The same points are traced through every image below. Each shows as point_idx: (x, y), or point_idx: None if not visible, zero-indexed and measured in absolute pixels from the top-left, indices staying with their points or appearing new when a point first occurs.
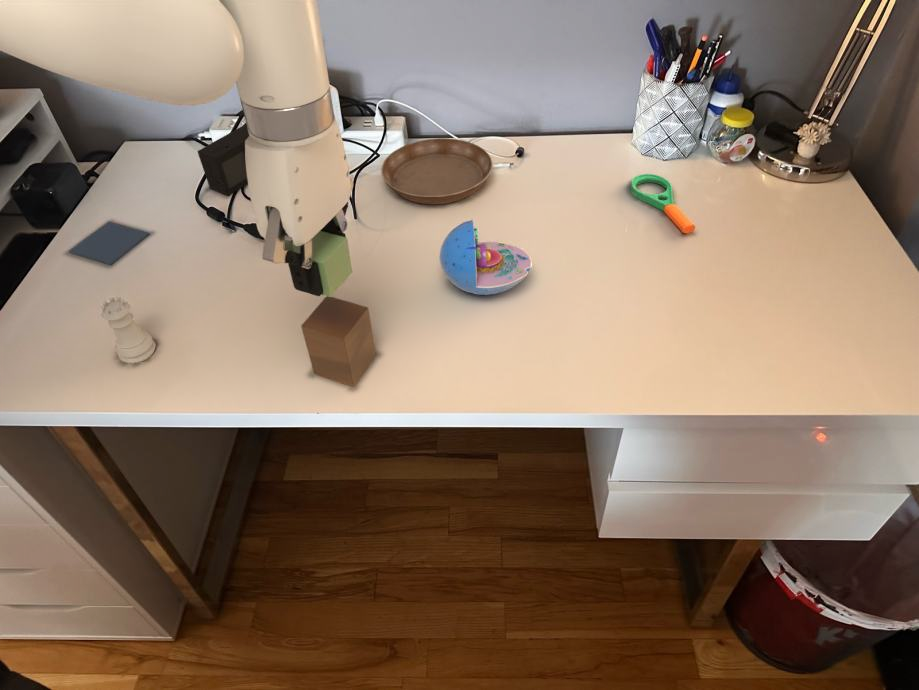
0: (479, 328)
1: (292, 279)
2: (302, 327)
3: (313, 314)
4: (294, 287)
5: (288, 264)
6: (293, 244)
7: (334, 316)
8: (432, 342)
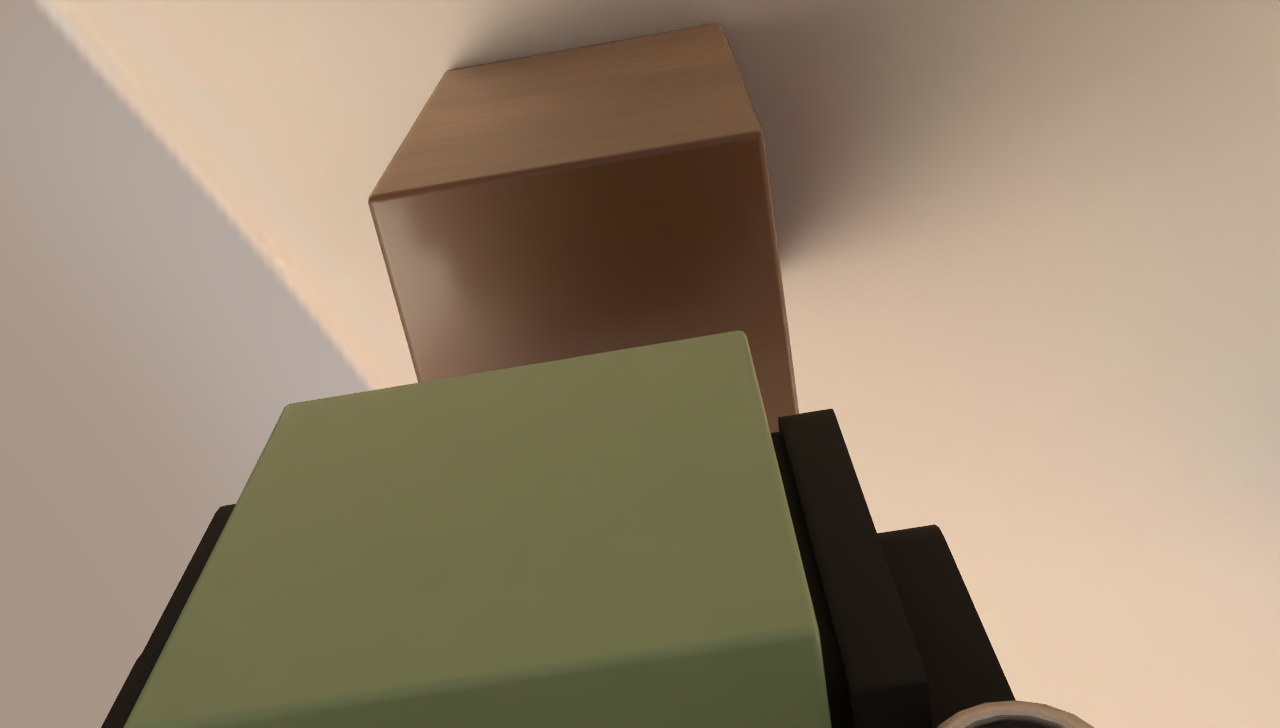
0: (1181, 585)
1: (184, 578)
2: (370, 209)
3: (520, 195)
4: (222, 506)
5: (194, 588)
6: (334, 705)
7: (596, 341)
8: (988, 458)
